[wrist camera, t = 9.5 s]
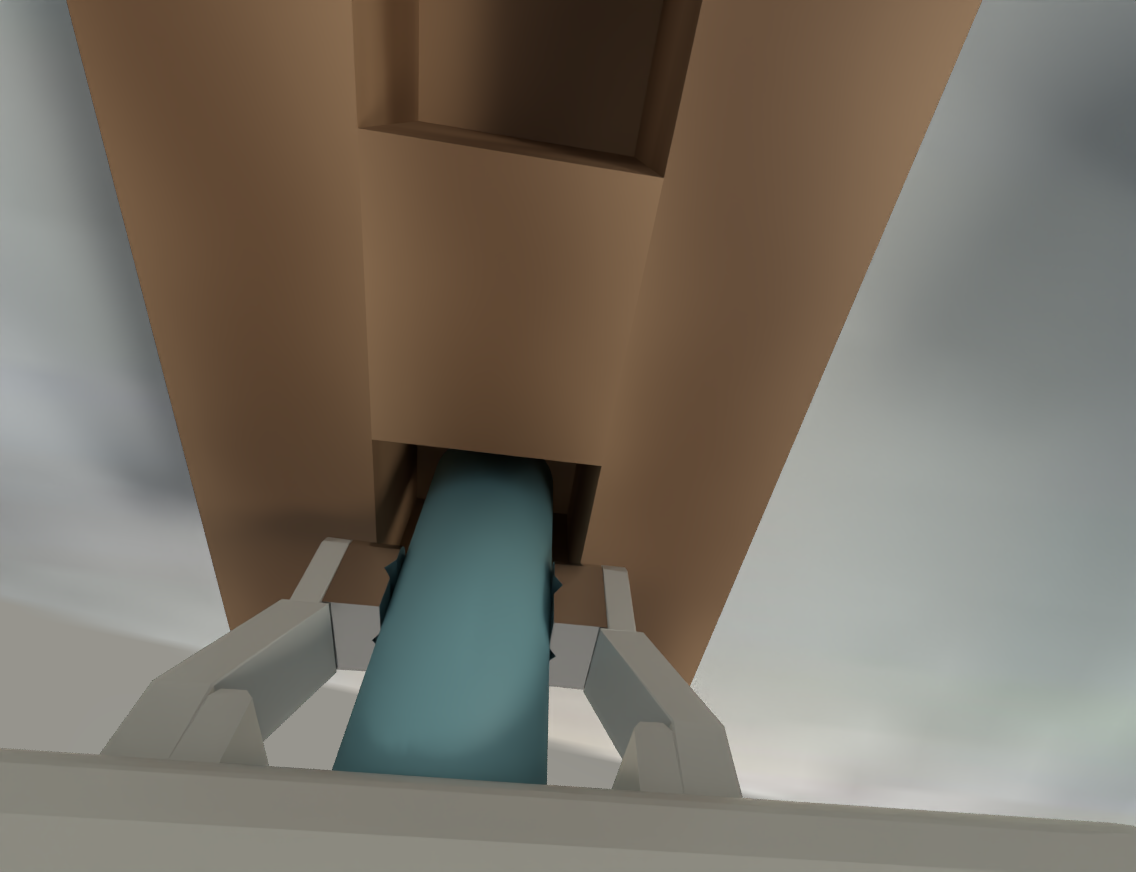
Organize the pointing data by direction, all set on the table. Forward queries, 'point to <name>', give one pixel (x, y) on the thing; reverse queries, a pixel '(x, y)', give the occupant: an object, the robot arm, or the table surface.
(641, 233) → the block
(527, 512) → the pin
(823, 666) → the table surface
